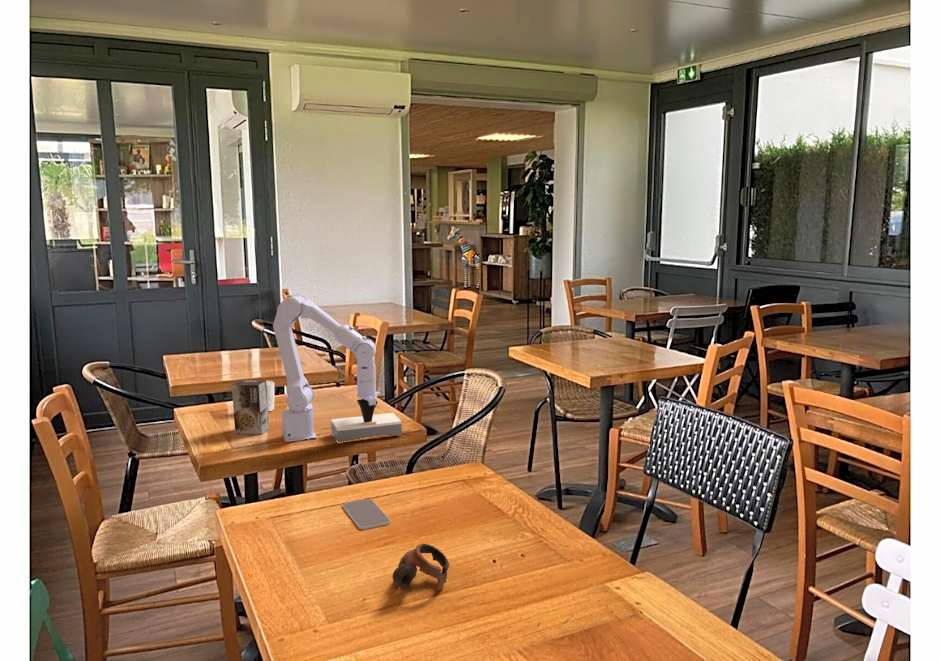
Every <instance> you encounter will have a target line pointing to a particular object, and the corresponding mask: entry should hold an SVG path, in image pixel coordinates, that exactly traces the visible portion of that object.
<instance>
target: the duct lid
mask: <svg viewBox="0 0 940 661" xmlns="http://www.w3.org/2000/svg"><path fill="white" fill-rule="evenodd" d="M330 420H331V421H330V423H331V422H332V424H333V425H334V427H335V428H336V430H337V431H343V430H351V429H360V428H369V427H378V426H386V425H395V424H403V422H402V420H401V419H400V418H399V417H398V416H397V415H395V413H394V412H389V413H379V414H377V413H376V414H373V418H372V422H364V420H363V416H362V415H361V416H352V417H351V416H350V417H341V418H333V419H330Z"/></svg>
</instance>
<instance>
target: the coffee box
mask: <svg viewBox="0 0 940 661" xmlns="http://www.w3.org/2000/svg"><path fill="white" fill-rule="evenodd" d="M266 381H267V380H266V379H265V380H263V379H262V380H260V379H259V380H258V379H253V380H252V379H251V380H250V379H241V380H237V381H236V382H234V383H233V384H231V393H232V406H233V407H232V408H233V420H234V422H233V423H234V434H235V433H240V434H242V435H243V434H244V435H247V434H248V435H263V434H264V433H265V432H267V431H268V430H269V428H270V427H269V425H270V424H269V423H270V422H269V413H268V405H267V389H266ZM266 430H267V431H266ZM262 433H263V434H262ZM240 434H239V435H240Z"/></svg>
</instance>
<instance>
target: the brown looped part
mask: <svg viewBox="0 0 940 661" xmlns="http://www.w3.org/2000/svg"><path fill="white" fill-rule="evenodd" d="M423 554H431V556H432V561H436V562H437V563H438V564H439V565H440V566H441V567H442V568H441V567H440V566H436V565H434V564H433V563H431V562H429V561H428V560H427V559H425V557H424V556H423ZM417 567H418V568H419V570H418V568H417ZM449 568H450V562H449V560H448V558H447V556H446V555H445V554H444V553H443V552H442V551H441V550H440V549H438V548H437V547H435V546H433V545H430V544H427V543H419V544H418V545H416V547H415V548H412V549H409V551H407V552H405V553H404V555H403V556H402V557H401V558H400V561H399V562H398V566H397V568H395V569H394V571H393V573H392V577H391V578H392V581H393V584H394V587H395V588H396V590H399V588H400V589H401V590H402V591H406V592H407V591H409V589H410V586H411V584H412V582H413V581H414V578H416V576H417V573H418V571H420V572H421V573H424V574H425V575H426V576H431V577H432V578H434V579H437V584H436V585H435V588H434V589H435V591H436V592H439V591H441V590H442V589H443V587H444V584H446V583H447V579H448V570H449Z"/></svg>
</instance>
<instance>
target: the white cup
mask: <svg viewBox="0 0 940 661" xmlns="http://www.w3.org/2000/svg"><path fill="white" fill-rule="evenodd" d="M266 389H267V405H268V411H272V410H273V409H274V410H275V382H274V381H273V380H266ZM272 412H273V411H272Z"/></svg>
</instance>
